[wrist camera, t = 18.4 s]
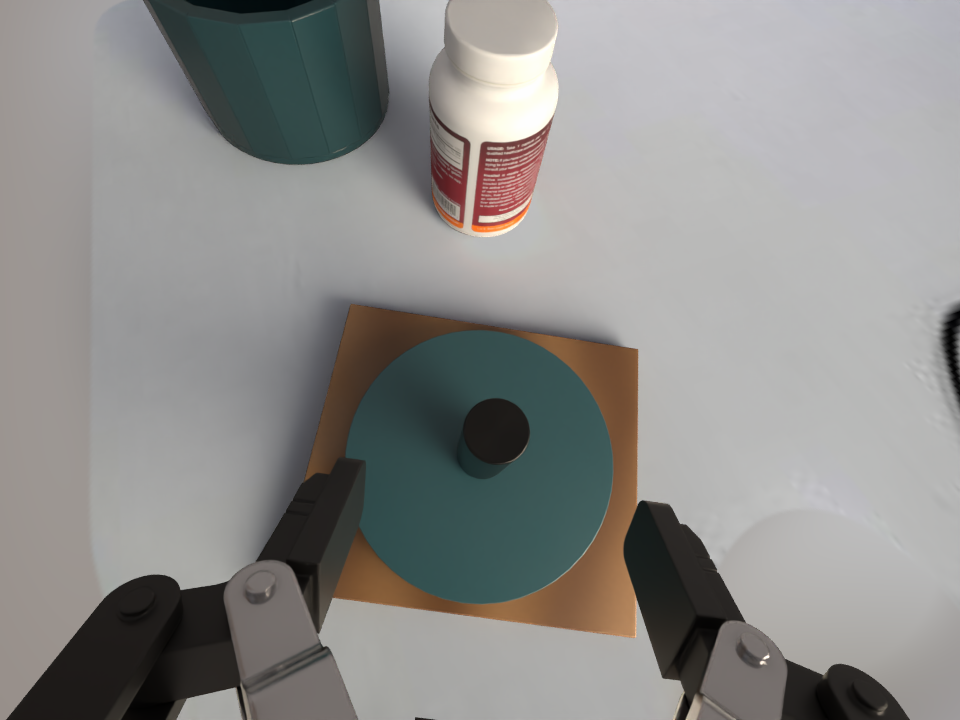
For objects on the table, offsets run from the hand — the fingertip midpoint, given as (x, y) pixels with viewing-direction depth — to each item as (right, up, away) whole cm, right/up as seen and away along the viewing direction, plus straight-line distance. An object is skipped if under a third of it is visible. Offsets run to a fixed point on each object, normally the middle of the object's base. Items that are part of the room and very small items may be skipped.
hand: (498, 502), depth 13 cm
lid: (0, 0, +8) cm, 8 cm away
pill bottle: (-1, +14, +16) cm, 21 cm away
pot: (-13, +22, +17) cm, 30 cm away
